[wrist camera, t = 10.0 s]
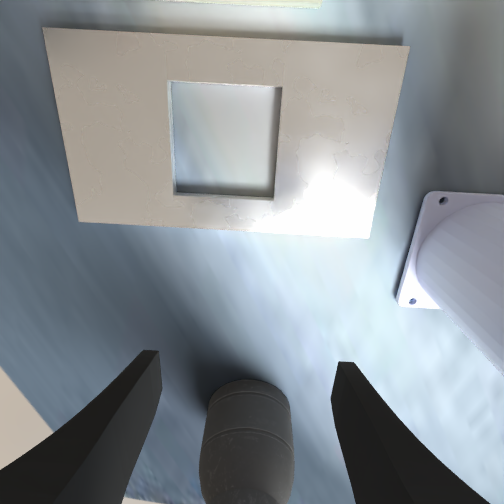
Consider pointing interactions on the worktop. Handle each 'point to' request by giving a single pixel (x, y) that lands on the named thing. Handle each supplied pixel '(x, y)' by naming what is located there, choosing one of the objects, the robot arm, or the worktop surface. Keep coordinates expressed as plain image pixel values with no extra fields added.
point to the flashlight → (247, 446)
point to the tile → (263, 2)
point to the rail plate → (225, 73)
